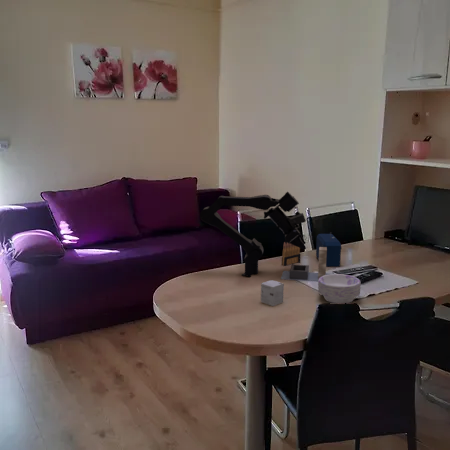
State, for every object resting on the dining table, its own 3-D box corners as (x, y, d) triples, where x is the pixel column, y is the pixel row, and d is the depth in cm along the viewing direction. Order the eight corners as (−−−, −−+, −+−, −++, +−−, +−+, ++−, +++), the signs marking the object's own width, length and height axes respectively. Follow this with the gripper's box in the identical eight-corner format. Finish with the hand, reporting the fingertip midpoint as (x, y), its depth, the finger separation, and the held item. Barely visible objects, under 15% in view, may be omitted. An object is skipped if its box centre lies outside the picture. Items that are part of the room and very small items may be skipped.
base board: (280, 281, 194) (280, 278, 193) (283, 272, 205) (283, 270, 205) (339, 285, 188) (339, 283, 188) (339, 276, 200) (339, 274, 200)
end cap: (289, 278, 194) (289, 270, 193) (291, 272, 203) (291, 264, 202) (307, 279, 192) (307, 271, 192) (308, 273, 201) (308, 265, 201)
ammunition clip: (284, 268, 212) (284, 242, 210) (281, 267, 214) (281, 241, 211) (300, 264, 219) (301, 239, 216) (297, 263, 220) (298, 238, 218)
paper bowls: (309, 295, 177) (310, 275, 175) (343, 290, 182) (344, 271, 180) (332, 309, 163) (333, 288, 161) (368, 304, 168) (369, 283, 167)
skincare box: (260, 302, 170) (260, 283, 169) (271, 298, 174) (271, 279, 173) (273, 306, 166) (273, 286, 164) (283, 302, 170) (284, 283, 169)
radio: (342, 269, 211) (344, 226, 207) (322, 269, 211) (324, 225, 207) (332, 256, 231) (334, 217, 227) (315, 256, 231) (316, 217, 228)
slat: (318, 278, 193) (319, 249, 191) (318, 275, 198) (319, 246, 196) (325, 279, 193) (326, 250, 190) (325, 275, 198) (326, 247, 195)
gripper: (295, 210, 185) (321, 239, 186) (294, 203, 203) (318, 229, 204) (274, 228, 187) (300, 256, 188) (275, 219, 205) (299, 245, 206)
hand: (305, 246), depth 197 cm, fingers open, 9 cm apart
